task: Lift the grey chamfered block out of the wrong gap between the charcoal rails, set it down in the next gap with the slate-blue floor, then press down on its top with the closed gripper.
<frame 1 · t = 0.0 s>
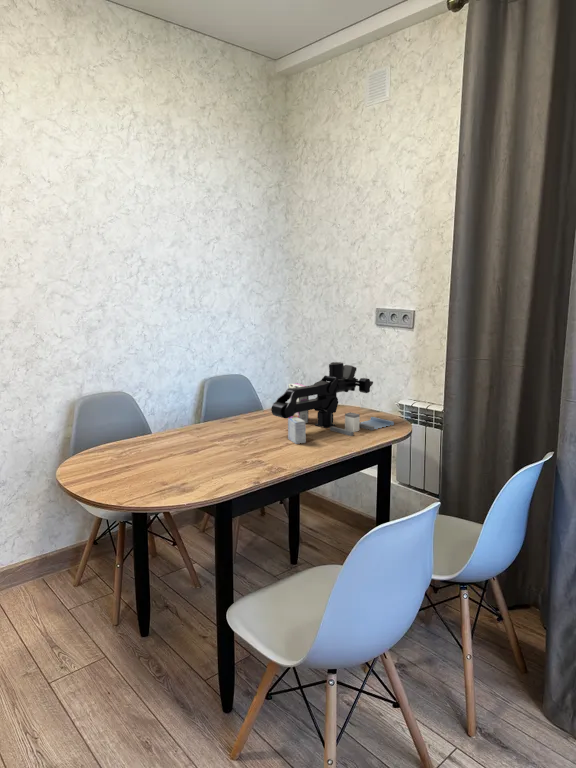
hand: (365, 381, 243), 17 cm above the table, tool horizontal, fingers open, 9 cm apart
candy bar box: (298, 421, 239), on the table
grey chamfered block: (352, 430, 222), on the table
rail tray: (362, 427, 226), on the table
medicine box: (296, 441, 207), on the table
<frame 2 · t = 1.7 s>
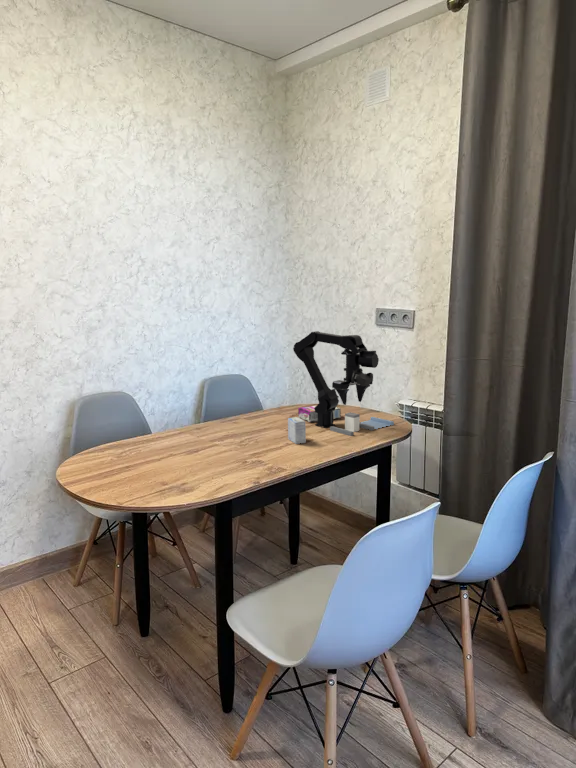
hand: (352, 403, 220), 12 cm above the table, tool pointing down, fingers open, 9 cm apart
candy bar box: (303, 415, 239), point 2 cm above the table
everything else where it was.
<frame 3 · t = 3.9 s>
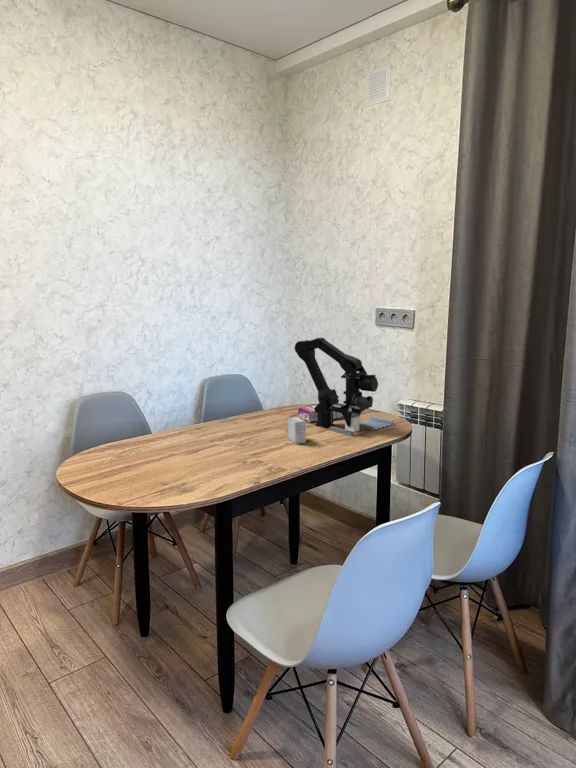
hand: (352, 425, 222), 2 cm above the table, tool pointing down, fingers closed on grey chamfered block, 3 cm apart
grey chamfered block: (352, 430, 222), on the table, touching gripper
everything else where it was.
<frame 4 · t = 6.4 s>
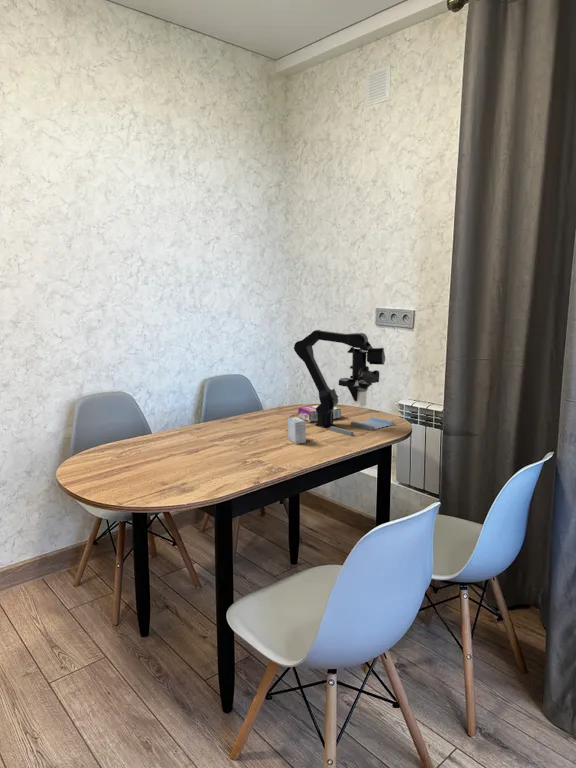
hand: (358, 400, 222), 12 cm above the table, tool pointing down, fingers closed on grey chamfered block, 3 cm apart
grey chamfered block: (358, 405, 223), point 10 cm above the table, touching gripper
everything else where it was.
when the fingers open (3 cm above the table, at t = 9.4 s): grey chamfered block drops 1 cm, resting on rail tray.
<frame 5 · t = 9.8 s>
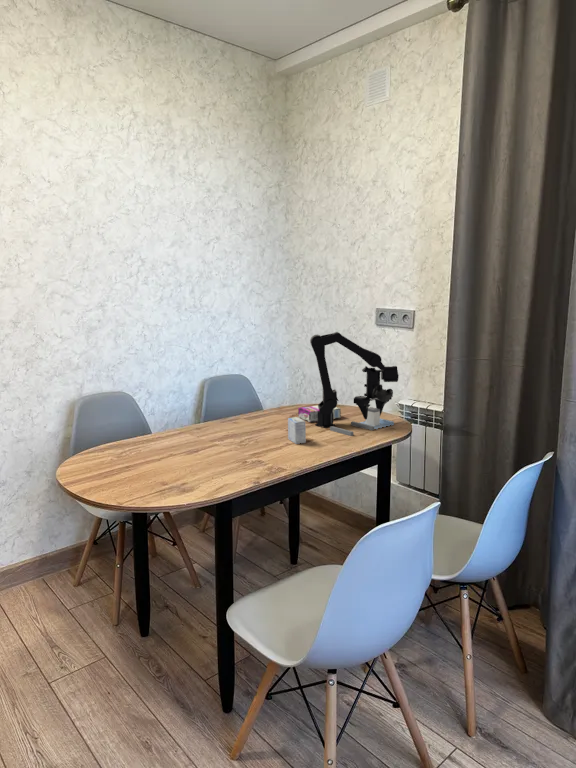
hand: (372, 417, 230), 3 cm above the table, tool pointing down, fingers open, 8 cm apart
grey chamfered block: (372, 424, 230), resting on rail tray
everything else where it was.
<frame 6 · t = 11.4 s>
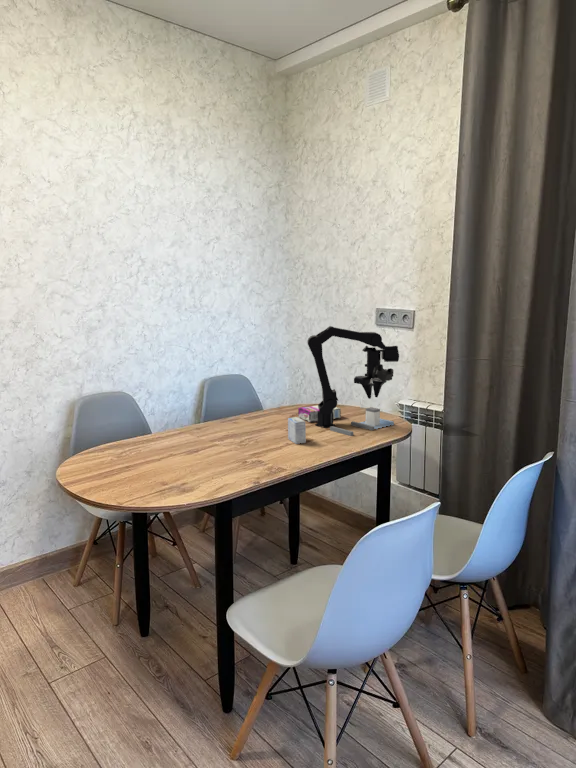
hand: (372, 397, 228), 12 cm above the table, tool pointing down, fingers open, 4 cm apart
nothing on the table moved.
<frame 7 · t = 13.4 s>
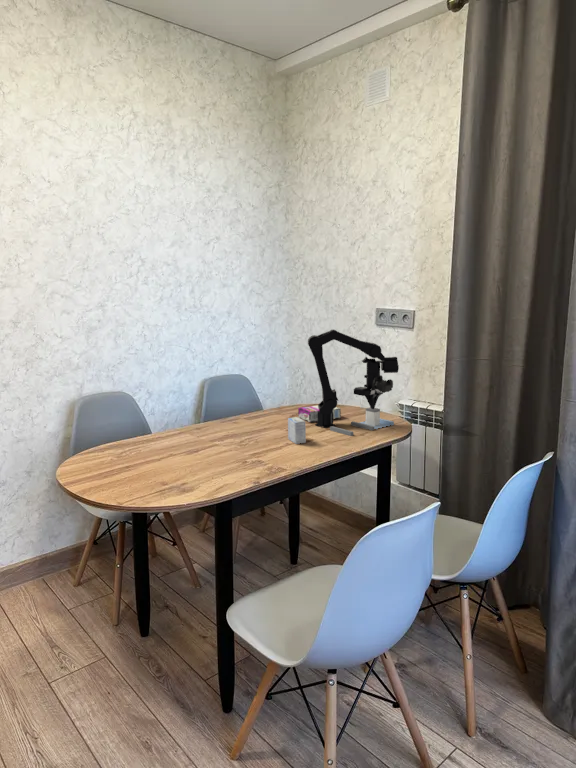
hand: (372, 408, 229), 7 cm above the table, tool pointing down, fingers closed, pressing on grey chamfered block
grey chamfered block: (372, 424, 230), resting on rail tray, touching gripper
everything else where it was.
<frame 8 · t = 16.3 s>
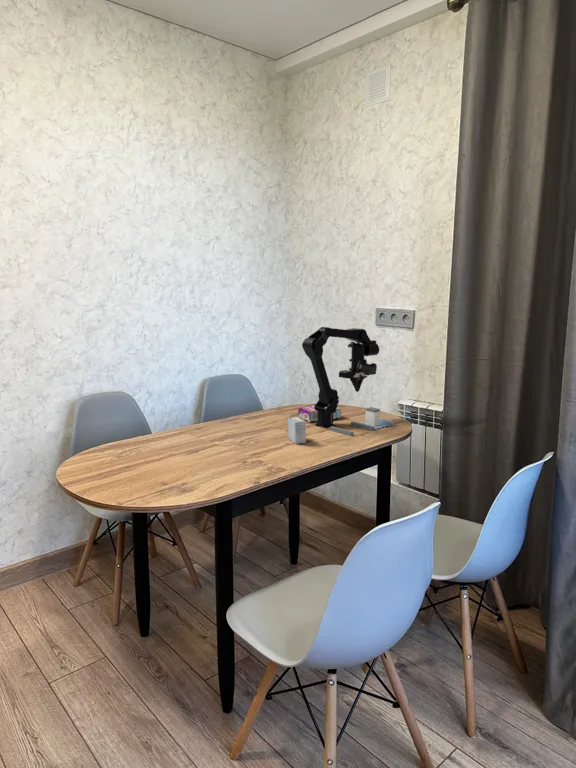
hand: (357, 391, 238), 13 cm above the table, tool pointing down, fingers closed
grey chamfered block: (372, 424, 230), resting on rail tray
everything else where it was.
at the end: grey chamfered block 0.1 cm from the target spot, resting on rail tray; grey chamfered block tilted 0°; the gripper is holding nothing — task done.
